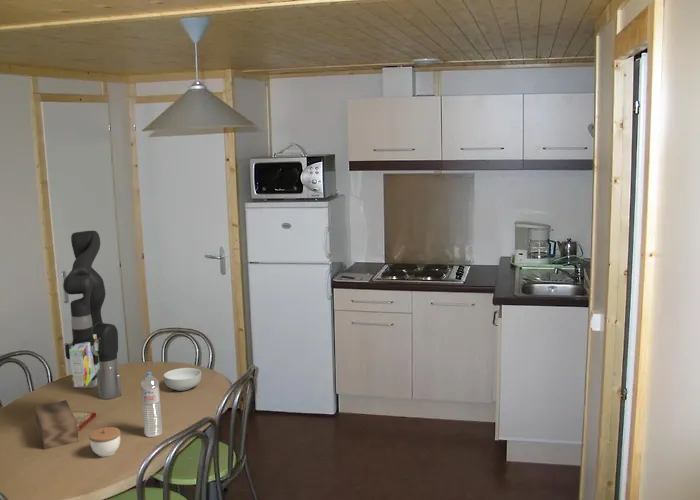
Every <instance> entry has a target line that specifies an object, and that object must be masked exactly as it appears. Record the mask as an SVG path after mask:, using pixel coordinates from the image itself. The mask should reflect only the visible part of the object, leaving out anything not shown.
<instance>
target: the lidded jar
mask: <svg viewBox="0 0 700 500" xmlns="http://www.w3.org/2000/svg"><path fill="white" fill-rule="evenodd" d="M88 437H89V445H90V447H91V450H92V451H93V453H95V454H96V455H97V456H98V457H101V458H103V457H104V458H105V457H106V458H107V457H110V456H113V455H115V453H116V451H117V450H118V449H119V447H120V443H121V430H120V429H119V428H118V427H112V426H111V427H109V426H107V427H101V428H98V429H95V430H93V431H92V432H90V434H89V435H88Z"/></svg>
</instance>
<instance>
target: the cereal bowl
mask: <svg viewBox="0 0 700 500" xmlns="http://www.w3.org/2000/svg"><path fill="white" fill-rule="evenodd" d="M201 380H202V371H201V370H200V369H198V368H194V367H180V368H176V369H171V370H169V371H166V372H165V373H164V374H163V383H164V384H165V385H166V387H168V388H170V389H173V390H175V391H177V392H184V391H189V390H191V389H192V388H194V387H195V386H197V385H198V384H200V382H201Z"/></svg>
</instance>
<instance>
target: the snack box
mask: <svg viewBox="0 0 700 500" xmlns="http://www.w3.org/2000/svg"><path fill="white" fill-rule="evenodd" d="M93 338H94V339H97V335H96V334H93ZM92 347H93V348H94V349H95V350H96V351H98V344H97V343H96V342H95V343H94V344H93V346H92ZM69 355H70V359H69V362H70V363H69V364H70V371H71V381H72V383H71V384H72V389H73V388H74V389H75V388H76V387H86V386H87V385H88V384H89V382H90V381H91V380H92V378H93V377H94V376H95V374H96V373H97V372H98V370H99V369H100V365H99V363H97V365H95V364H94V353H93V352H92V351H91V348H90V342H84V343H79V344H75V345H74V346H71V348H70V349H69ZM98 359H99V355H98Z"/></svg>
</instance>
